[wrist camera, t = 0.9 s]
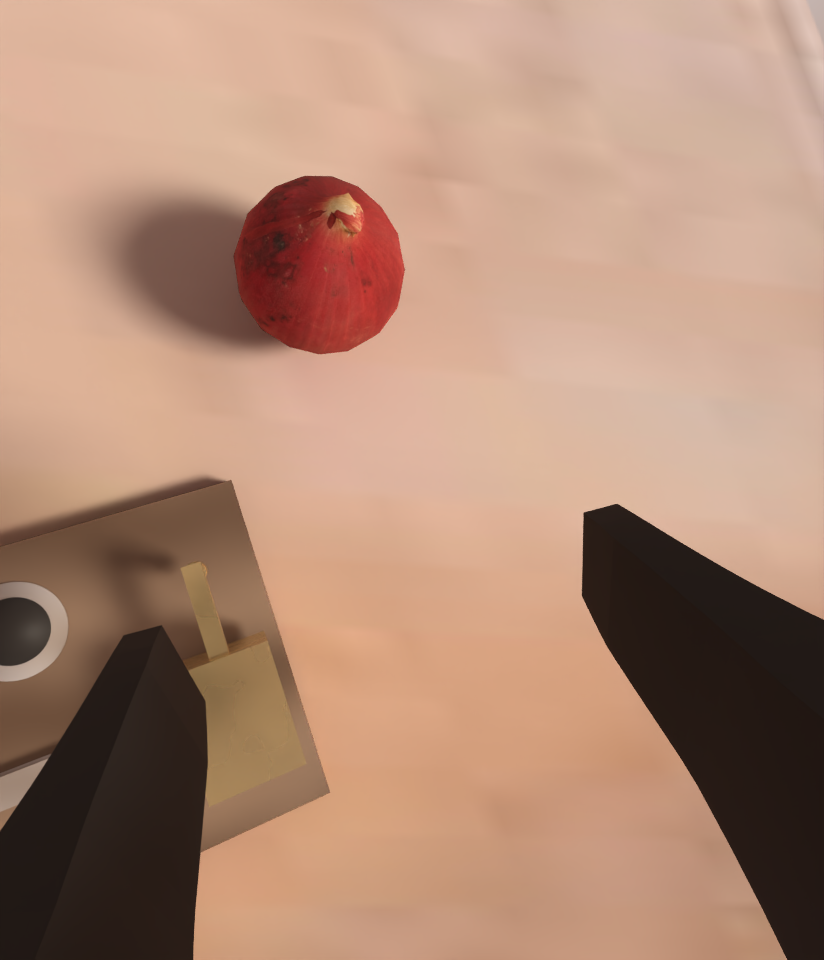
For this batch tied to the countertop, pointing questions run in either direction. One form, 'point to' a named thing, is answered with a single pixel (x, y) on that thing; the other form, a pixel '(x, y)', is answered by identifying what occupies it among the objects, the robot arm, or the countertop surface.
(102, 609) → the gauge board
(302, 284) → the onion
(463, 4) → the countertop surface
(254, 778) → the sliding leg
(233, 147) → the countertop surface
